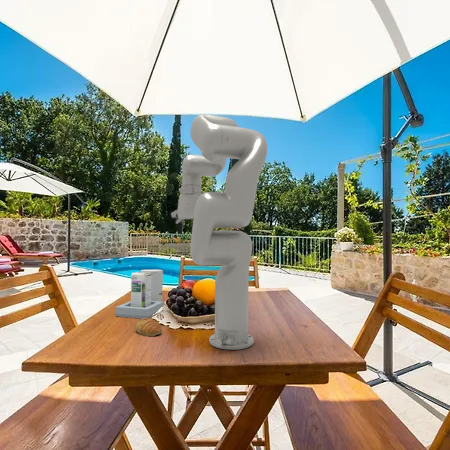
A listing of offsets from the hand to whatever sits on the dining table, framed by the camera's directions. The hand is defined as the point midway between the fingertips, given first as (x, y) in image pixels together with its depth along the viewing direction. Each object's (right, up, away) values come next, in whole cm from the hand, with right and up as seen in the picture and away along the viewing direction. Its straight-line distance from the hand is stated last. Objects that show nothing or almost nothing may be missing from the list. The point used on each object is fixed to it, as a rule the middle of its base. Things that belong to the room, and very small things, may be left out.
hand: (191, 233), depth 126 cm
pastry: (-10, -30, -27) cm, 42 cm away
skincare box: (-18, -31, +10) cm, 37 cm away
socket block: (-19, -30, -5) cm, 36 cm away
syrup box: (-19, -29, -5) cm, 35 cm away
